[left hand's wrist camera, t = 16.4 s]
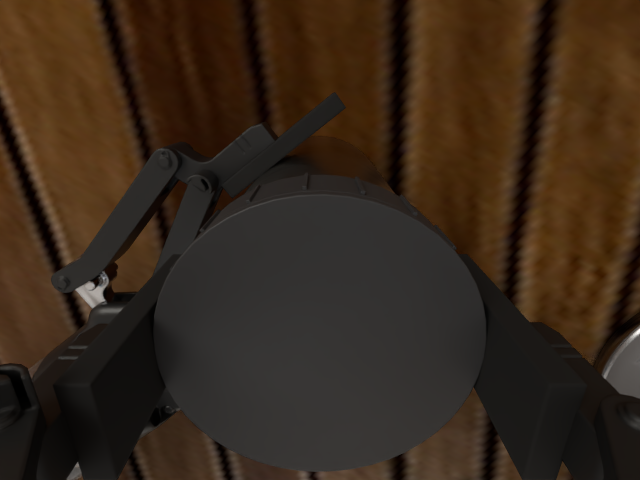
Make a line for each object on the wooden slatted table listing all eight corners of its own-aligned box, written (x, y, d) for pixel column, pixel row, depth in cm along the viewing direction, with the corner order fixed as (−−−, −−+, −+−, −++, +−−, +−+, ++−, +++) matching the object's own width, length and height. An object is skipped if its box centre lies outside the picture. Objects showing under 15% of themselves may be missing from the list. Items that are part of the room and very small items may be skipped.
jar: (254, 251, 27) (179, 433, 12) (259, 129, 24) (167, 182, 9) (371, 262, 27) (430, 451, 13) (392, 143, 24) (498, 215, 10)
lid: (471, 389, 14) (499, 444, 12) (233, 433, 15) (217, 493, 12) (440, 139, 10) (472, 150, 8) (135, 213, 11) (91, 242, 9)
